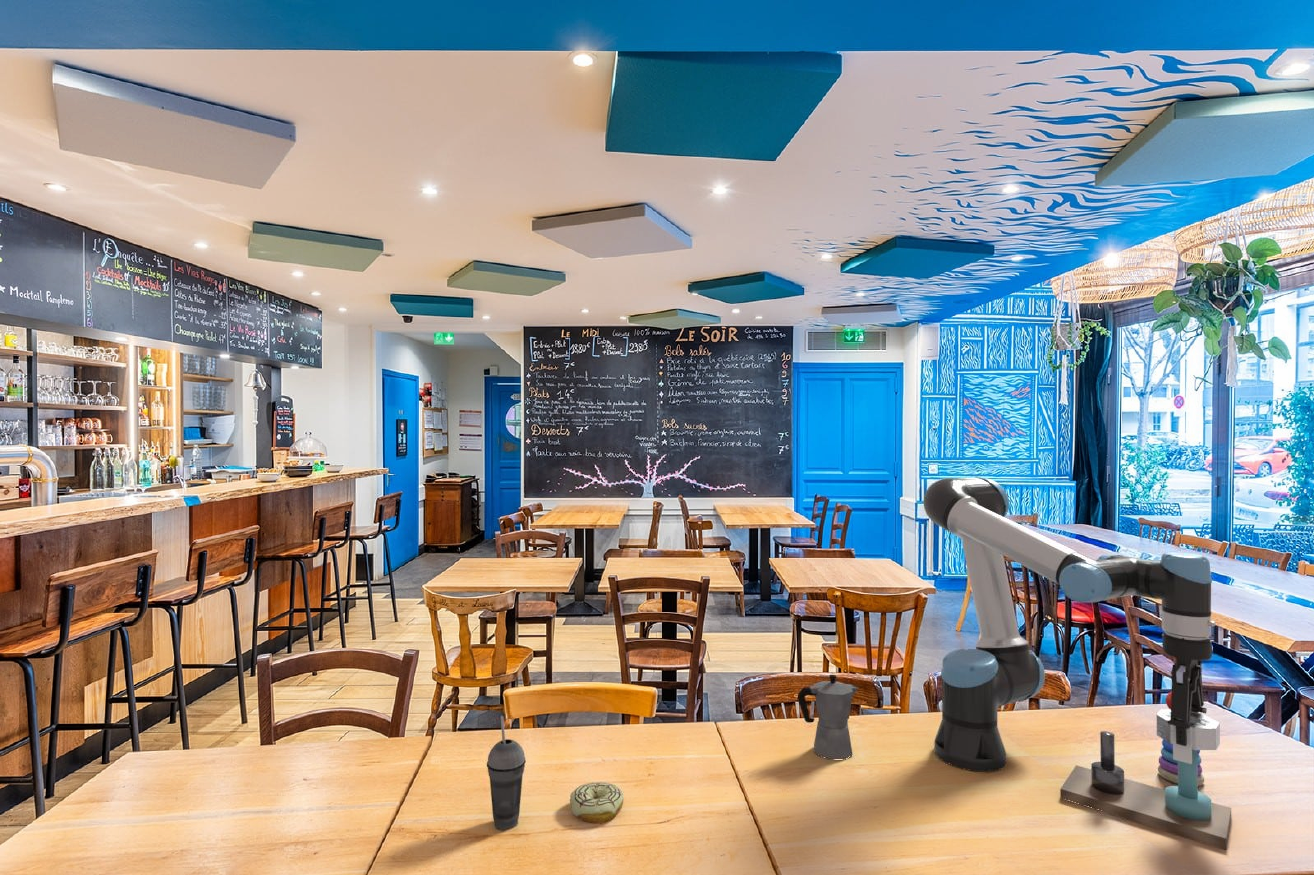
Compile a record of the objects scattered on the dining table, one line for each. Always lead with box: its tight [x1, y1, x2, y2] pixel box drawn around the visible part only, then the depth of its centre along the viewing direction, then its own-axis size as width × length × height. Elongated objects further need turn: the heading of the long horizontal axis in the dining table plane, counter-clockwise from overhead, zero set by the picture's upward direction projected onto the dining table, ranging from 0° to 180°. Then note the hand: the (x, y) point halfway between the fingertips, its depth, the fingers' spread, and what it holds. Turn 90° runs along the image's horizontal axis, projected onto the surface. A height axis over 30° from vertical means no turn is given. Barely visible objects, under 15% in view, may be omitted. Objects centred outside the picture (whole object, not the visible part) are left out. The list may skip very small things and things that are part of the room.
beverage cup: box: [486, 715, 526, 831], centre depth 130 cm, size 7×7×20 cm
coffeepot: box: [797, 674, 860, 760], centre depth 160 cm, size 15×9×18 cm, turn 103°
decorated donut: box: [569, 781, 624, 824], centre depth 135 cm, size 10×11×4 cm
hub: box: [1164, 749, 1212, 821], centre depth 131 cm, size 7×7×14 cm
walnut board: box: [1059, 764, 1232, 850], centre depth 136 cm, size 26×14×2 cm, turn 47°
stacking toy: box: [1157, 691, 1205, 787], centre depth 148 cm, size 8×8×19 cm
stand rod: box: [1090, 730, 1125, 795], centre depth 140 cm, size 6×6×11 cm
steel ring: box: [1156, 709, 1221, 751], centre depth 131 cm, size 9×9×4 cm
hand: (1187, 753), depth 131 cm, fingers closed on steel ring, 9 cm apart
